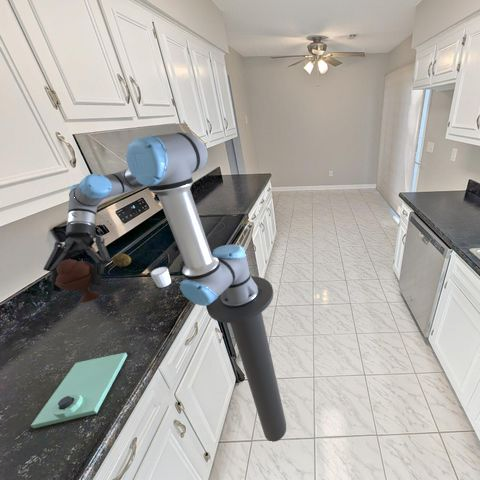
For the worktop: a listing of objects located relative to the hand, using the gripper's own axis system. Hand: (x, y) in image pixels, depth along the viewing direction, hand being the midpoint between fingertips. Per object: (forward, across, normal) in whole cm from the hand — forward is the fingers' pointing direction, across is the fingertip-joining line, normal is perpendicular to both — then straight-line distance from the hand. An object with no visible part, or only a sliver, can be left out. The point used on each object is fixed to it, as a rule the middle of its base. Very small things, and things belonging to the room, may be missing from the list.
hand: (76, 287), depth 83 cm
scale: (+30, +7, -4) cm, 31 cm away
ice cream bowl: (+3, 0, +6) cm, 7 cm away
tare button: (+33, +7, -10) cm, 35 cm away
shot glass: (-3, +14, +31) cm, 34 cm away
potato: (-20, -13, +47) cm, 53 cm away
